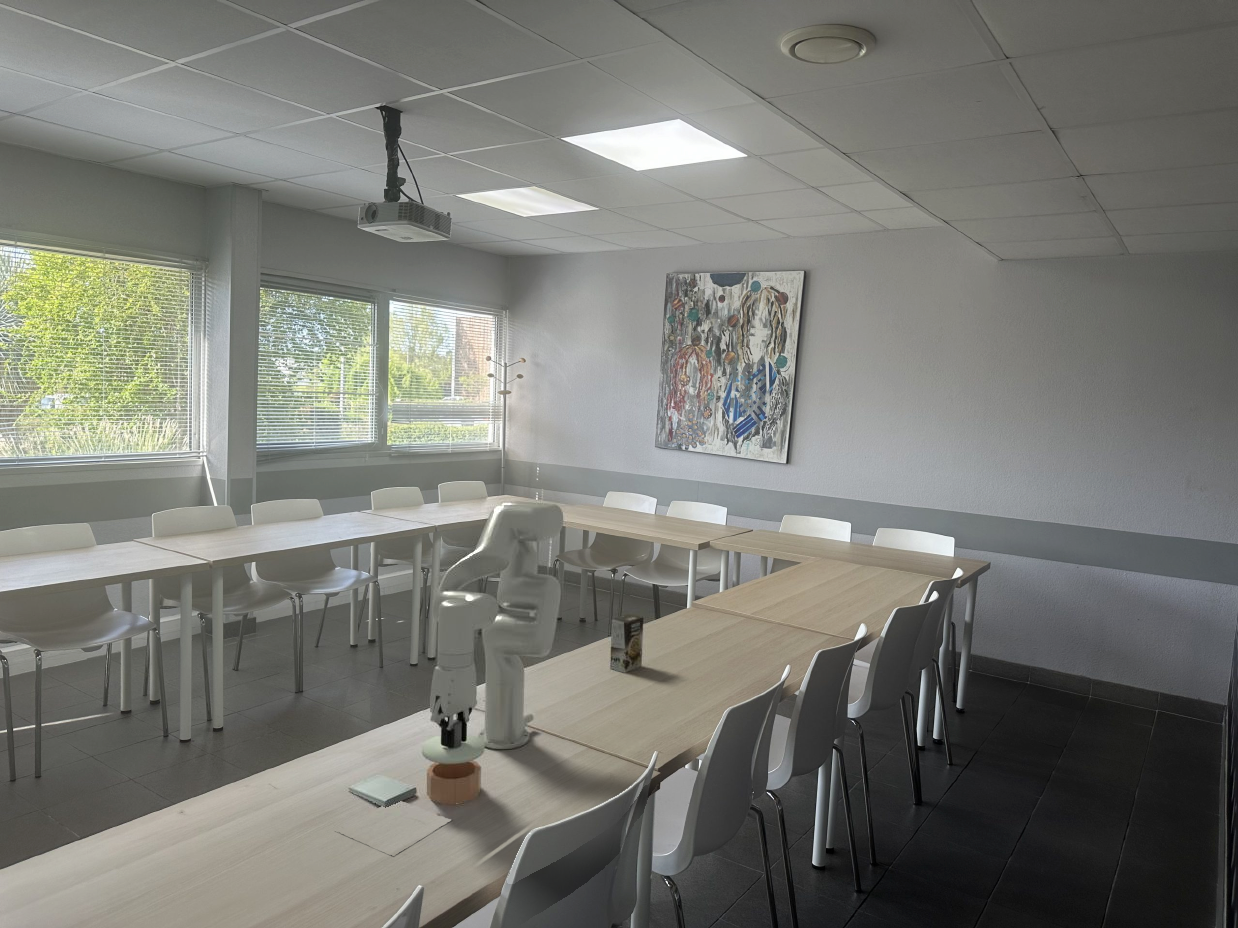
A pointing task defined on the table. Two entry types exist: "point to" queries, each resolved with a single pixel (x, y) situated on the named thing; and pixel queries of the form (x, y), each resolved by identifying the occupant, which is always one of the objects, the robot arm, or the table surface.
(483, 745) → the lid
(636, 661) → the coffee box
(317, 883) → the table surface
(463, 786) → the bowl
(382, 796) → the hard drive
